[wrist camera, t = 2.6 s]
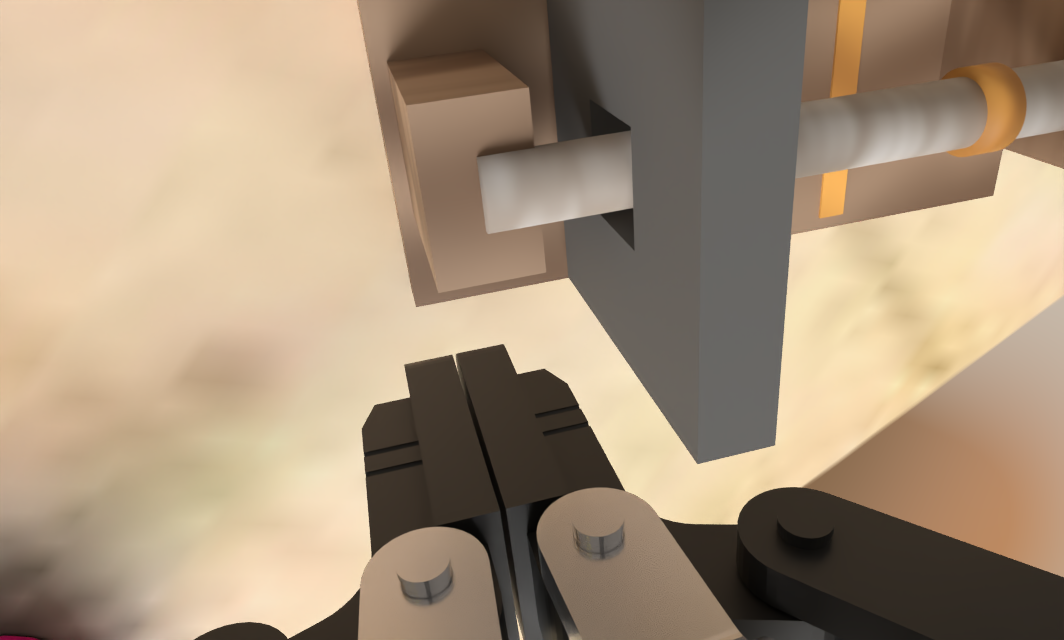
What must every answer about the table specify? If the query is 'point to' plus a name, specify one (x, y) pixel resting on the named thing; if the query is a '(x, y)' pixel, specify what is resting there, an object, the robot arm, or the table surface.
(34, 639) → the pepper mill
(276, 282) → the table surface
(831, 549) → the robot arm
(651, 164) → the collar
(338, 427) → the table surface
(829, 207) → the rod stand
